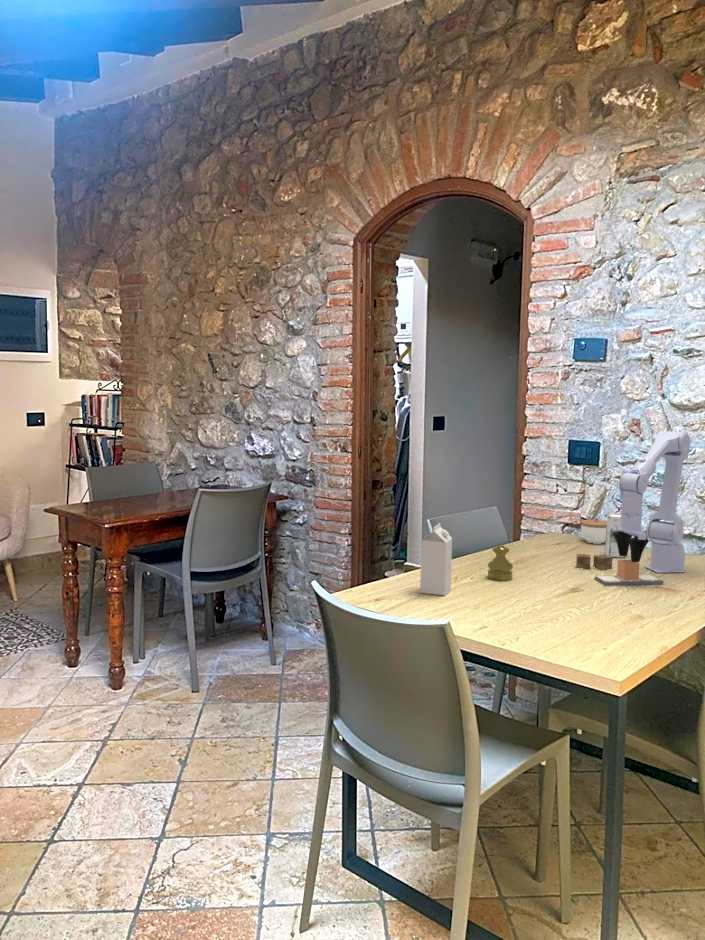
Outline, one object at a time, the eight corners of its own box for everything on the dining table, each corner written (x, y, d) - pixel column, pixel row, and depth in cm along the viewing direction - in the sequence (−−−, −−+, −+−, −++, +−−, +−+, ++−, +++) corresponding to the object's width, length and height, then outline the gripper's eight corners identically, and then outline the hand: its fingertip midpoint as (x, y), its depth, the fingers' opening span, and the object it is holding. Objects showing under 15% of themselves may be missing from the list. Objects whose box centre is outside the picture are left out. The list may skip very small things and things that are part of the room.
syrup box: (621, 554, 265) (623, 513, 263) (625, 558, 259) (628, 516, 257) (604, 554, 265) (606, 512, 264) (608, 557, 260) (610, 515, 258)
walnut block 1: (589, 566, 247) (589, 554, 247) (590, 569, 243) (590, 557, 243) (576, 566, 248) (576, 553, 247) (576, 568, 244) (577, 556, 244)
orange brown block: (631, 575, 231) (632, 559, 230) (638, 579, 227) (639, 563, 226) (617, 576, 230) (617, 559, 230) (624, 580, 226) (625, 563, 225)
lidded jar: (606, 540, 289) (607, 515, 288) (613, 546, 278) (614, 520, 277) (577, 539, 290) (578, 514, 289) (583, 545, 279) (584, 519, 278)
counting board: (651, 578, 233) (651, 574, 233) (663, 584, 226) (663, 580, 226) (594, 579, 230) (594, 576, 230) (605, 585, 224) (605, 582, 223)
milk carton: (419, 593, 213) (421, 526, 211) (426, 587, 220) (428, 522, 218) (444, 596, 211) (446, 528, 209) (450, 589, 217) (452, 523, 215)
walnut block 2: (603, 566, 247) (603, 554, 247) (611, 569, 243) (612, 557, 243) (593, 567, 246) (593, 555, 245) (601, 570, 242) (602, 558, 241)
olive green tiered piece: (514, 581, 228) (515, 548, 226) (489, 581, 228) (490, 548, 226) (510, 575, 235) (511, 543, 234) (485, 574, 235) (486, 542, 234)
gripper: (607, 509, 233) (605, 553, 234) (630, 518, 219) (628, 564, 220) (629, 509, 234) (627, 553, 235) (653, 517, 219) (651, 564, 221)
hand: (629, 558), depth 228 cm, fingers open, 7 cm apart
